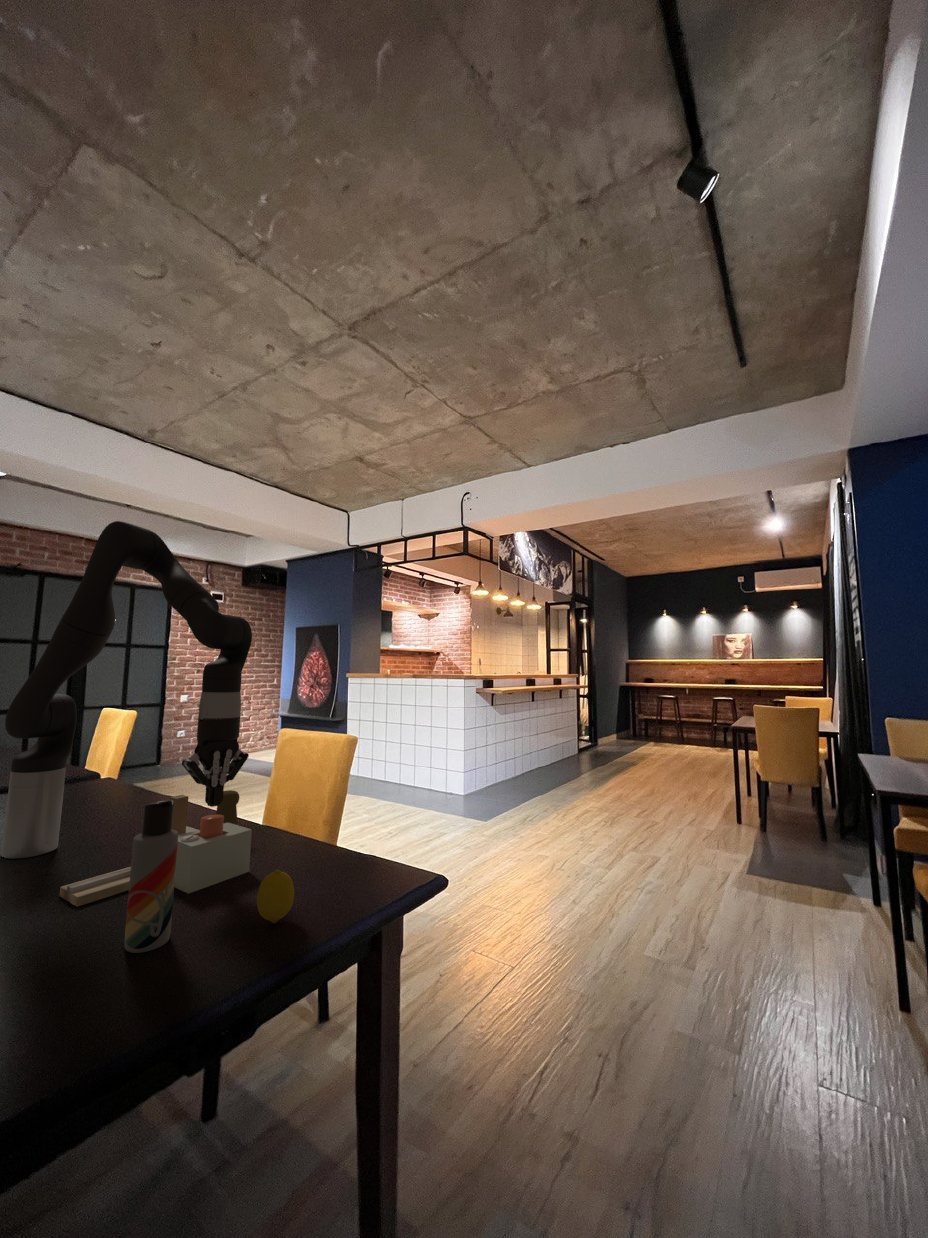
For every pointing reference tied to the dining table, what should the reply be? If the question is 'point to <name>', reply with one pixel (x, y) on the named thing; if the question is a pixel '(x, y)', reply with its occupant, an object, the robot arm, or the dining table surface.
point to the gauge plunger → (211, 826)
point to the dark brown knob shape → (229, 807)
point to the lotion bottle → (152, 880)
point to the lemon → (275, 896)
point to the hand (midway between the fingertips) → (213, 805)
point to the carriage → (180, 814)
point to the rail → (96, 887)
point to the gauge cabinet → (211, 857)
